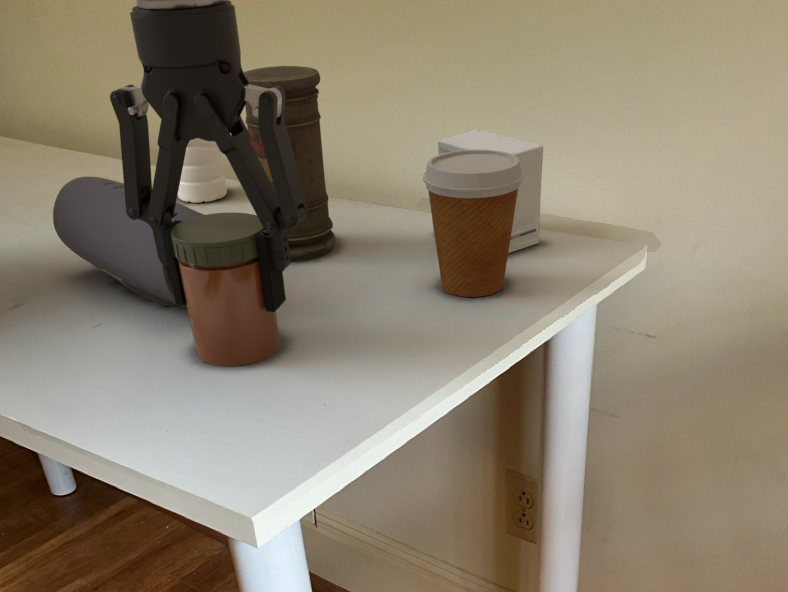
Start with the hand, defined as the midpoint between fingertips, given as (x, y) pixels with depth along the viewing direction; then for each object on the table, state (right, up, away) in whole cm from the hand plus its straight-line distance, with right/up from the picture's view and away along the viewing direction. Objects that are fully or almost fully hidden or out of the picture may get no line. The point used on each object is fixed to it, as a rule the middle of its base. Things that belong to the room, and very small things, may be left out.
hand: (230, 302), depth 78 cm
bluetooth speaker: (-11, +5, +15) cm, 19 cm away
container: (+3, +12, +24) cm, 27 cm away
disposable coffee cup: (+22, +5, +12) cm, 26 cm away
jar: (0, -3, +3) cm, 4 cm away
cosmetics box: (+25, +13, +23) cm, 37 cm away
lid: (0, +5, -4) cm, 6 cm away
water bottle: (-11, +25, +42) cm, 50 cm away
